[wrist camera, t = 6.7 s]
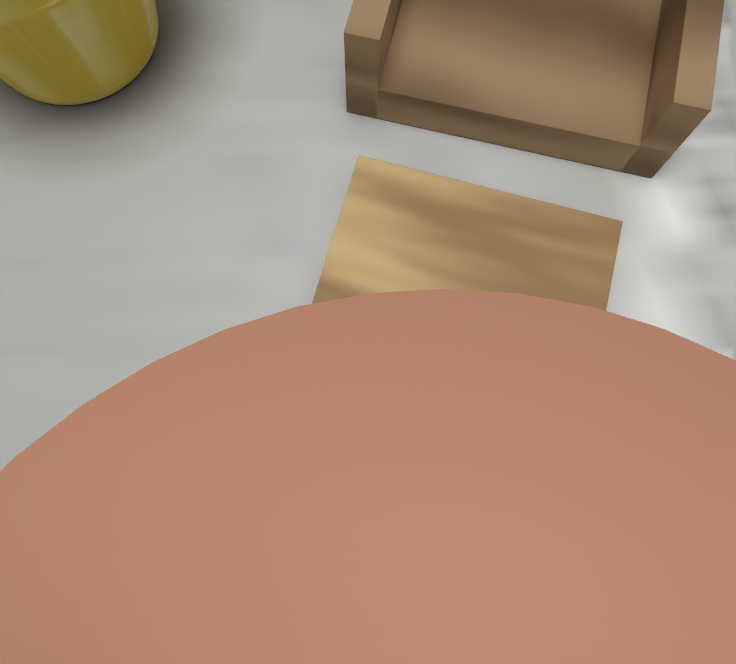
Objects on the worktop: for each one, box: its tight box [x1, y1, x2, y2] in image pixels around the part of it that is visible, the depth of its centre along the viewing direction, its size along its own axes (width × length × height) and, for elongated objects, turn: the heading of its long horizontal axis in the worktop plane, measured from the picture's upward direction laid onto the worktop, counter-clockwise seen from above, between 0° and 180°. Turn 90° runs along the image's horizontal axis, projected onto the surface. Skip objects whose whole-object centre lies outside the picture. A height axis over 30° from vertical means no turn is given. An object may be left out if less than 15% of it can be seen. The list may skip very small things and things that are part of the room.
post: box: [0, 289, 736, 664], centre depth 8 cm, size 5×5×13 cm
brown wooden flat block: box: [312, 156, 623, 311], centre depth 23 cm, size 4×10×12 cm
